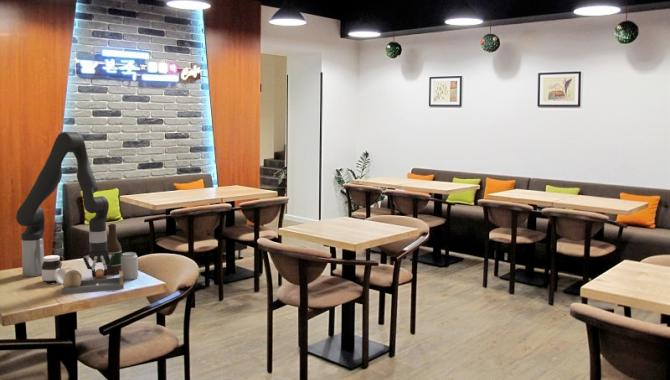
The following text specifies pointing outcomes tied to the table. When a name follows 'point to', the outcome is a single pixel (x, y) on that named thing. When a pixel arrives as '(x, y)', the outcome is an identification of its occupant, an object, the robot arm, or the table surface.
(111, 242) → the beer bottle
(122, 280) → the backstop
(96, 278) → the tee
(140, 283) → the table surface
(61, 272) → the spread jar
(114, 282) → the lane
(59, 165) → the robot arm
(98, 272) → the ball
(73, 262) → the table surface
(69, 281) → the log
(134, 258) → the can
